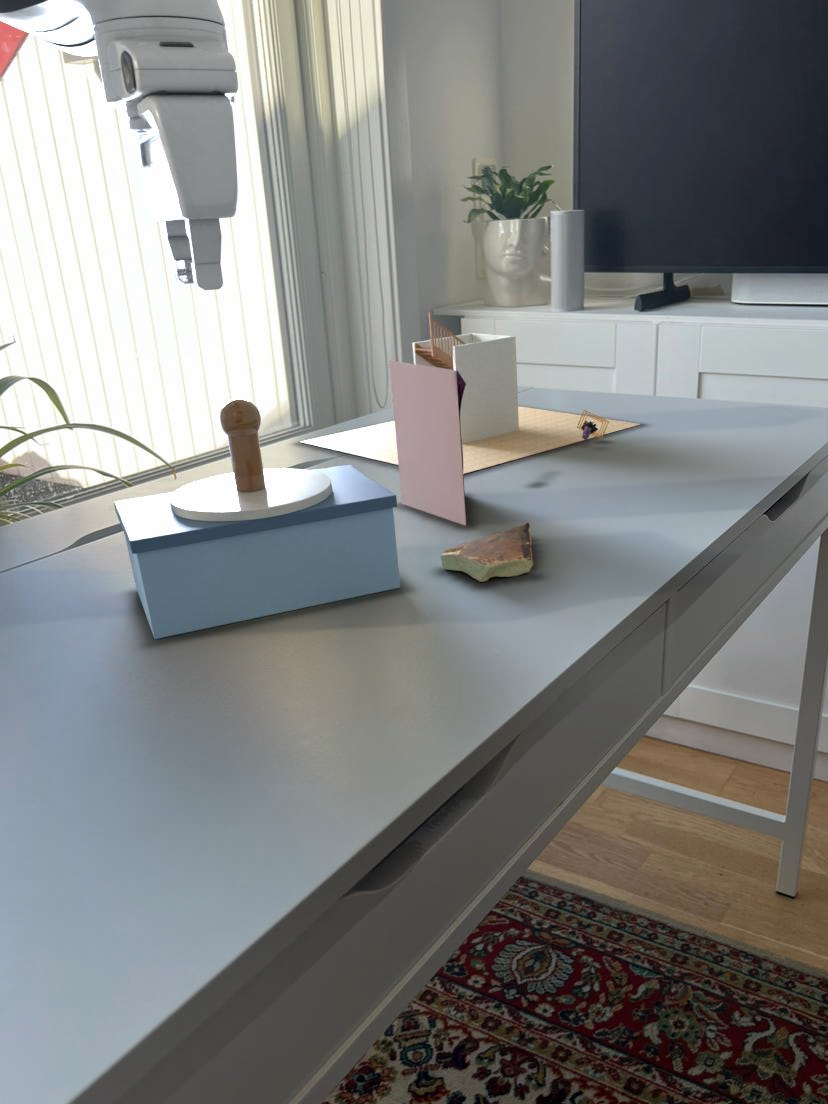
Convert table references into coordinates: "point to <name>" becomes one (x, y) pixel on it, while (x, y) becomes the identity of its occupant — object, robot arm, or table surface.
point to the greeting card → (429, 438)
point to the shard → (492, 555)
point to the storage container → (260, 556)
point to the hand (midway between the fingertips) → (198, 286)
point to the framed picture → (591, 426)
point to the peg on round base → (248, 479)
